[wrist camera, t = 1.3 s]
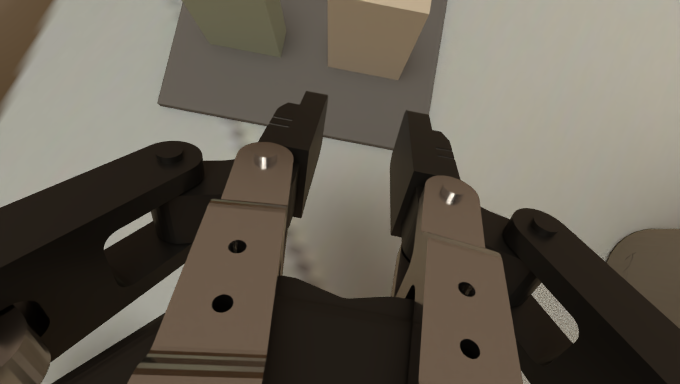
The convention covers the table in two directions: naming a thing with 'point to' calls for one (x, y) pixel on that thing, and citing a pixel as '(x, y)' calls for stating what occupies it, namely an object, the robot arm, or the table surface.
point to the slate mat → (300, 77)
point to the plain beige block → (374, 34)
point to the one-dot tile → (241, 24)
